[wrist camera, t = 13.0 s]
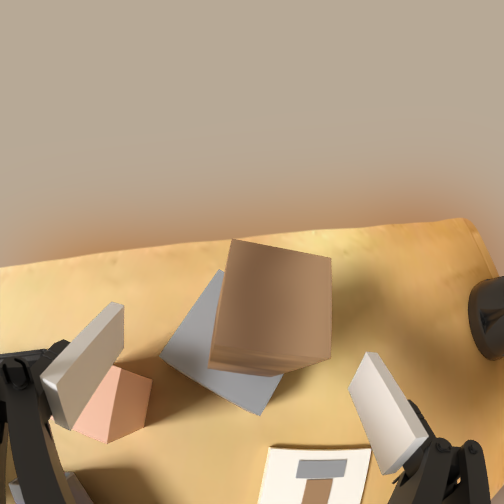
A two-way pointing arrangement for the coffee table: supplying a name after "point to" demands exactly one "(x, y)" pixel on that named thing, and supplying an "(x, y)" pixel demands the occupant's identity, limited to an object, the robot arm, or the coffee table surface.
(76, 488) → the bluetooth speaker
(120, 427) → the terracotta block
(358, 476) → the picture card
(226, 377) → the slate-grey plinth
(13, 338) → the coffee table surface
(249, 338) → the walnut block
